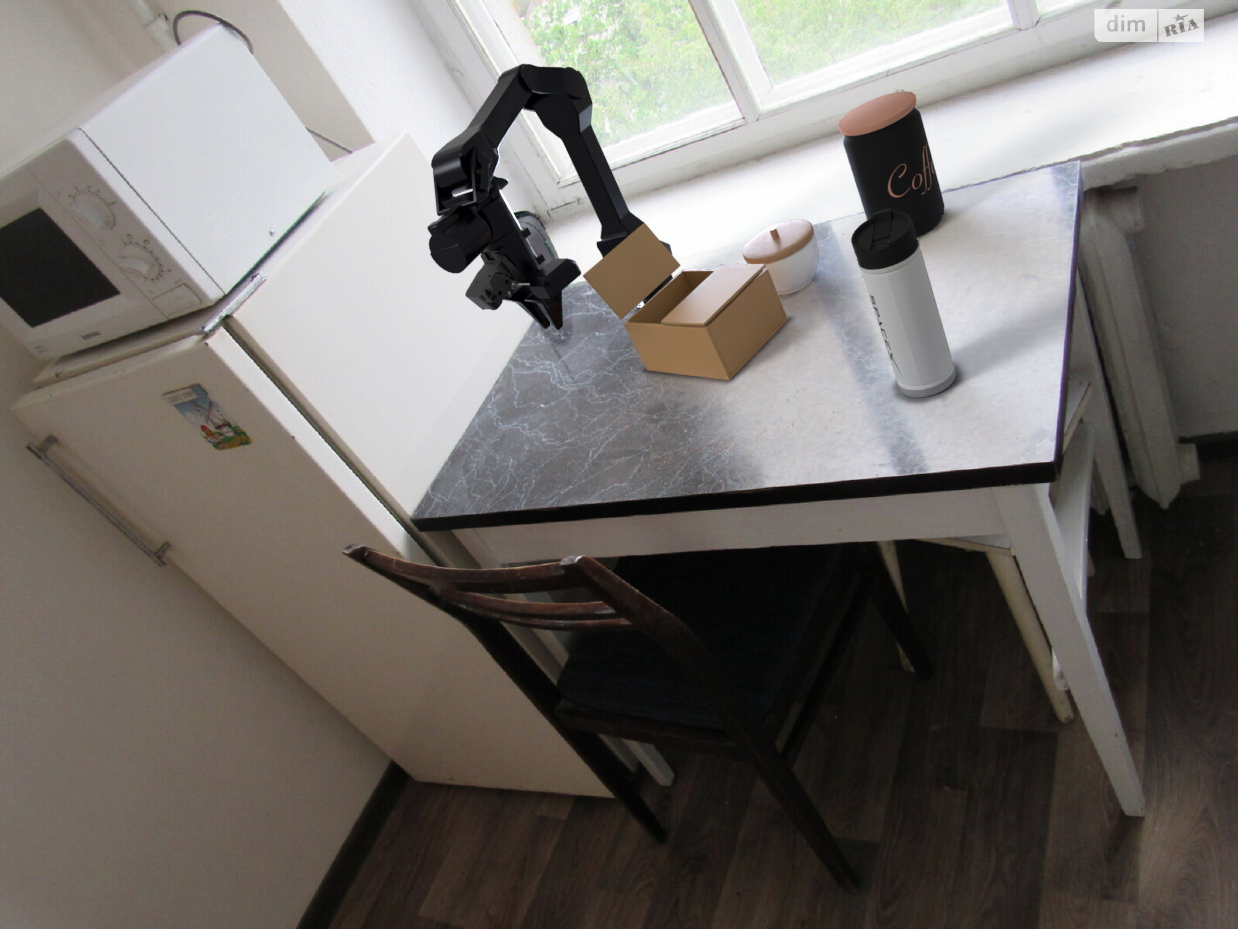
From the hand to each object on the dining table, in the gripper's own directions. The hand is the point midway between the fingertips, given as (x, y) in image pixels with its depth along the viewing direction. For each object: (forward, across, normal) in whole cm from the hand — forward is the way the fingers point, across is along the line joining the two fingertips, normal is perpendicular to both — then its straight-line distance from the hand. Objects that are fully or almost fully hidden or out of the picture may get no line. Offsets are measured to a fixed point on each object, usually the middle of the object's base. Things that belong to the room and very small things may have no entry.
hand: (553, 327), depth 125 cm
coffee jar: (+13, +28, +45) cm, 55 cm away
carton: (+12, +14, +14) cm, 24 cm away
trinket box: (+13, +17, +30) cm, 37 cm away
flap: (-1, +4, +14) cm, 15 cm away
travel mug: (+13, +50, +11) cm, 53 cm away
